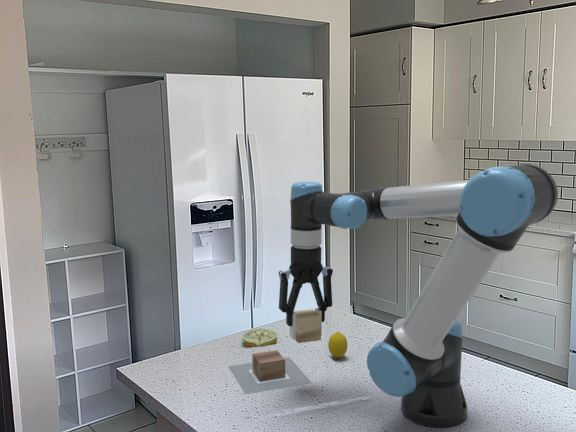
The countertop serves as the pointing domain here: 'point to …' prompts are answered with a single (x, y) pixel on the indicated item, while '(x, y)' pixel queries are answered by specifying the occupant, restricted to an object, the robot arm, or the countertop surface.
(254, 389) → the grey square plate
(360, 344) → the countertop surface
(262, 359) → the walnut base
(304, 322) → the oak cube
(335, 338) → the lemon
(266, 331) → the decorated donut
